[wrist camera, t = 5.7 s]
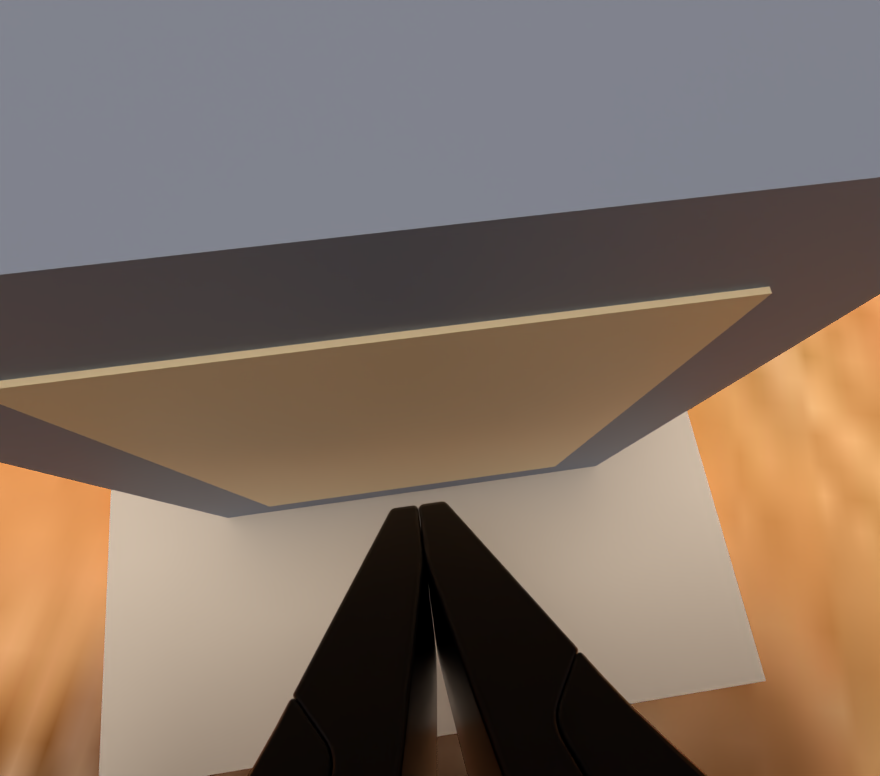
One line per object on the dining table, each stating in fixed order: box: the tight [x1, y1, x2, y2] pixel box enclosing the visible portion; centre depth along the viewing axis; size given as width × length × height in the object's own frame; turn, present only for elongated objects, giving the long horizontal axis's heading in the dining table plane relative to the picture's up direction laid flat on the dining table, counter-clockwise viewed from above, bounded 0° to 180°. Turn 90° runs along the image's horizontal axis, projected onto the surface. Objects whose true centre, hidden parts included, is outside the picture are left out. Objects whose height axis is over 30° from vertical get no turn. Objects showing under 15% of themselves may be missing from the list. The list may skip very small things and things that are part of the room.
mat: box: [99, 411, 766, 776], centre depth 17 cm, size 24×16×1 cm, turn 8°
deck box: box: [0, 0, 880, 518], centre depth 9 cm, size 2×10×12 cm, turn 98°
